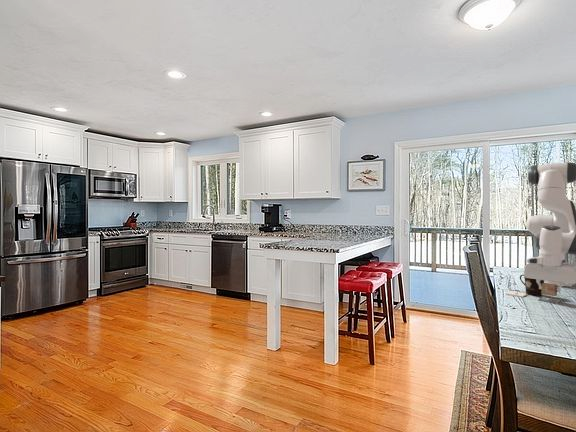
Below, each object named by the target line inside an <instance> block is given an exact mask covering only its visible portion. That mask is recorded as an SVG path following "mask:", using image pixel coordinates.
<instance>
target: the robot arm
mask: <svg viewBox="0 0 576 432" xmlns="http://www.w3.org/2000/svg"><path fill="white" fill-rule="evenodd" d="M526 180H527V182H528V183H529V184H531V185H534V186H536V185H537V201H538V203H539V204H540V205H541V206H542V208H543V209H545V210H547V211H549V212H551V213H552V214H537V215H536V214H535V215H531V216H529V217H528V218H527V219H526V222H525V227H526V229H527V230H528V232H529V233H531V234H532V235H533V236H534V237H535V239H536V241H535V243H536V245H535V247H536V248H537V250H539V252H538V256H533V257H528V258H526V264H525V266H524V270H523V275H524V276H525V278H531V279H536V282H537V284H538V285H539V289H542V285H541V283H540V281H541V280H544V283H549V284H556V285H557V288H556V292H557V293H560V292H561V290H562V289H561V288H562V287H570V288H572V287H573V285H576V263H574V262H566V259H565V258H566V257H565V254H568V255H573V256H575V255H576V206H575V204H574V201H573V200H570V199H569V198H568V197H567V194H566V193H567V192H566V189H567V188H566V184H571V183H575V182H576V163H575V162H570V161H568V162H553V163H545V164H535V165H532V166H529V168H528V170H527V171H526ZM524 276H523V277H524ZM525 278H524V279H525Z"/></svg>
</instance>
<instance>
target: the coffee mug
mask: <svg viewBox="0 0 576 432" xmlns="http://www.w3.org/2000/svg"><path fill="white" fill-rule="evenodd" d="M522 277H523V278H524V280H522ZM519 280H520V283H522V284H523V285H524V288H525V294H527V295H526V296H532V297H543V296H542V295H543V294H541V292H542V289H539V285H538V284H537V282H536V279H531V278H525V276H524V274H520V275H519ZM540 283H541V285H542V283H544V280H541V281H540Z"/></svg>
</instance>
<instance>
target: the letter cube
mask: <svg viewBox="0 0 576 432" xmlns="http://www.w3.org/2000/svg"><path fill="white" fill-rule="evenodd" d="M556 288H558V286H557V285H556V284H549V283H542V292H541V294H542V295H543V296H550V297H551V296H552V297H556V296H558V292H556Z"/></svg>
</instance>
